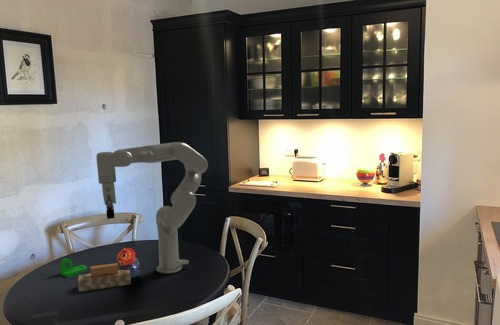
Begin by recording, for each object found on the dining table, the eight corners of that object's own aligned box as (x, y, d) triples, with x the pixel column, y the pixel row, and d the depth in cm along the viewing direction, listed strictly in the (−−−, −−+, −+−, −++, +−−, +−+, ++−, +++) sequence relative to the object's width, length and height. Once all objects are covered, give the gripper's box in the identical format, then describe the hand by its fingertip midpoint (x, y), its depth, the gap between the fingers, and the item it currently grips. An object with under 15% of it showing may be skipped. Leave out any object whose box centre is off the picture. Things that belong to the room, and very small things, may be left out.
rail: (130, 278, 195) (129, 268, 194) (131, 284, 188) (130, 273, 188) (80, 285, 188) (79, 275, 188) (78, 291, 181) (78, 280, 181)
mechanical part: (67, 278, 198) (66, 262, 197) (60, 276, 201) (59, 260, 200) (89, 270, 208) (88, 255, 207) (82, 268, 211) (81, 253, 210)
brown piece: (118, 279, 191) (117, 263, 190) (118, 282, 188) (117, 265, 188) (91, 283, 188) (90, 266, 187) (91, 286, 185) (90, 268, 184)
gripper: (116, 181, 181) (119, 219, 183) (115, 176, 197) (118, 211, 199) (98, 182, 178) (101, 221, 180) (98, 177, 195) (102, 213, 197)
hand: (110, 216), depth 190 cm, fingers open, 9 cm apart
